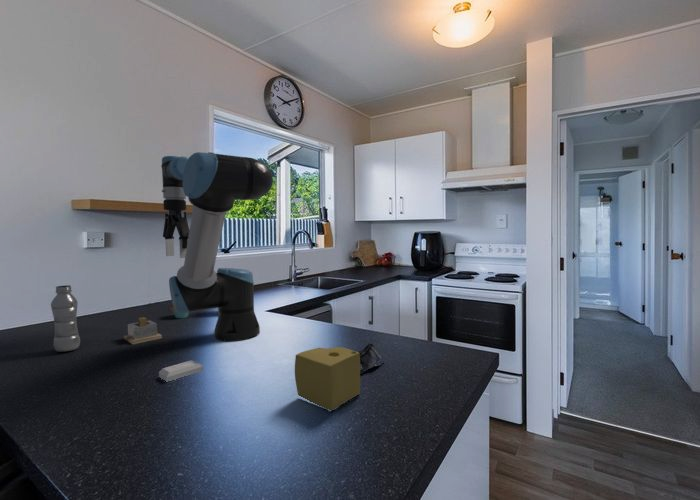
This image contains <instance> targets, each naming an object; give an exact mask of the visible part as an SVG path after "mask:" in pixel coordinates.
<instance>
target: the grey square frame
mask: <svg viewBox="0 0 700 500" xmlns="http://www.w3.org/2000/svg"><path fill="white" fill-rule="evenodd" d="M157 333H158V324H157V323H156V322H155V321H152V320H151V319H149V320H147V325H142V326H138V321H137V322H132V323H127V335H128V336H129V337H131V338H132V339H133V340H137V339H142V338H147V337H152V336H157Z"/></svg>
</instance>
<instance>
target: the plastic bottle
mask: <svg viewBox="0 0 700 500" xmlns="http://www.w3.org/2000/svg"><path fill="white" fill-rule="evenodd" d="M71 292H72V286H71V285H69V284H67V285H57V286H55V294H56V296H54V297H53V299H52V301H51V302H50V308H51V313H52V315H53V316H52V317H53V321H54V323H53V324H54V337H53V343H52V344H53V349H54V350H55V351H56V352H60V353H61V352H69V351H74V350H76V349H78V348H79V347H80V345H81V337H80V334H79V330H78V323H77V321H78V320H77V318H78V316H77V313H78V300H77V298H76V297H75V296H74V295H73V294H72V293H71Z"/></svg>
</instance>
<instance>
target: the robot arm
mask: <svg viewBox="0 0 700 500" xmlns="http://www.w3.org/2000/svg"><path fill="white" fill-rule="evenodd" d="M160 166H161V173H162V174H161V176H162V179H161V180H162V189H161V192H162V193H163V196H162V197H163V200H162V201H163V203H162V204H163V210H164V211H168V212H166V213H164V225H163V230H162V231H163V232H162V238H164V239H165V256H166V257H175V243H174V241H175V240H174V239H175V236H174V233H175V229H176V230H177V232H178V235H179V236H178V241H179V243H178V244H179V258H180V259H184V263H183V266H180V268H179V269H178V270H177V272H176V275H173V276H170V277H169V278H168V284H169V285H168V286H169V294H170V299H171V302H172V303H171V304H173V306H174V309H175V310H176V311H177V312H180V313H182V312H189V313H192V312H197V311H203V310H211V309H218V307H219V315H218V316H217V320H216V323H215V327H214V330H213V333H214V337H213V338H215V339H216V340H218V341H219V340H220V341H226V342H227V341H228V342H229V341H234V340H235V341H242V340H241V339H243V340H247V339H246V338H248V339H251V338H250V337H252V338H254V337H253V336H255V337H256V335H257V334H258V335H259V334H260V331H261V329H260V328H261V327H260V324H259V321H258V318H257V315H256V312H255V302H254V301H255V299H254V297H255V296H254V294H255V291H254V285H255V282H254V275H253V273H252V271H251V270H249V269H244V268H243V269H242V268H233V267H218V268H217V271H216V270H215V264H216V261H217V255H218V252H219V251H218V250H219V246H220V241H221V237H222V231H223V228H224V222H225V219H226V214H227V213H229V212H230V211H231V210H232V209H233V208H234V204H235V201H236V200H238V201H239V200H241V201H243V200H244V201H249V200H250V201H251V200H257V199H261V198H262V197H264V196H265V195H267V194H268V193H269V192H270V190H271V189H272V188H273V187H272V186H273V183H274V176H273V173H272V171H271V169H270V167H269V166H267V164H266V163H264V162H263V161H261V160H259V159H257V158H253V157H247V156H237V155H236V156H235V155H231V154H230V155H229V154H220V153H215V152H212V151H211V152H201V151H200V152H199V151H198V152H194V153H192V154H191V155H190V156H189V157H188V156H176V155H165V156H163V157H162V158H161V165H160ZM186 198H187V199H188V202H189V203H190V205H192V213H191V219H190V226H189V222H188V219H187V212H185V211H187V201H186ZM258 335H257V336H258Z"/></svg>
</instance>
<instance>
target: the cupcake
mask: <svg viewBox="0 0 700 500" xmlns="http://www.w3.org/2000/svg"><path fill="white" fill-rule="evenodd" d="M170 311H172V313H173V314H174V317H175V318H176V319H184V318H187V317H188V318H189V315H190V312H182V313H180V312H177V311H176V310H175V309H174V306H173V303H171V305H170Z"/></svg>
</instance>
